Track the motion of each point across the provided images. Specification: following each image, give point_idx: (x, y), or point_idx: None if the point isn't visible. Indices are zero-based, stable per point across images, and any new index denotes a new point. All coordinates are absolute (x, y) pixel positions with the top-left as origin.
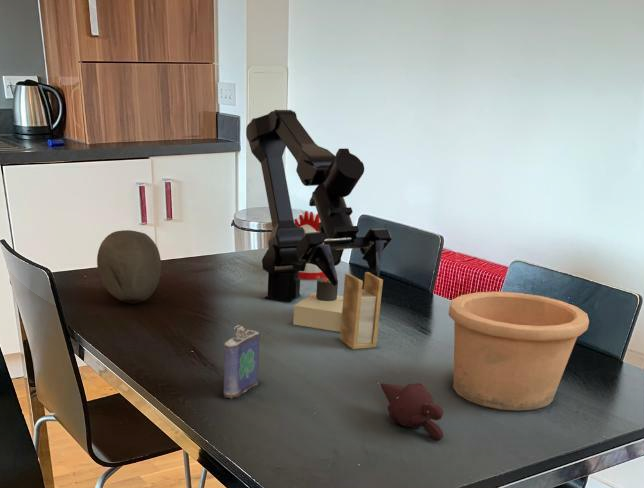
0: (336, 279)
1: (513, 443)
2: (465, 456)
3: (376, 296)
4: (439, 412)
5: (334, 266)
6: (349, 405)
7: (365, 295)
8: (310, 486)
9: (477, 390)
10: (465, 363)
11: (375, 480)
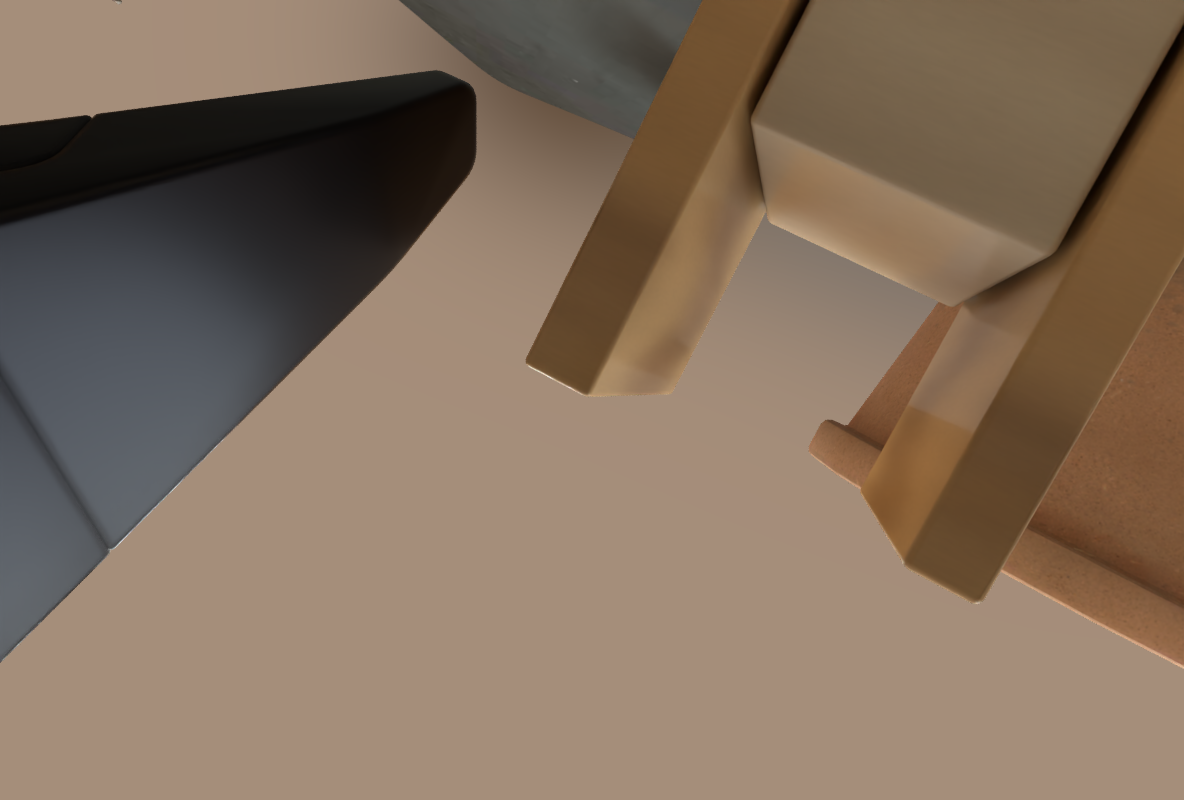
0: (425, 205)
1: None
2: None
3: (959, 311)
4: None
5: (279, 379)
6: (619, 2)
7: (861, 250)
8: (486, 52)
9: None
10: (929, 314)
11: (592, 103)
